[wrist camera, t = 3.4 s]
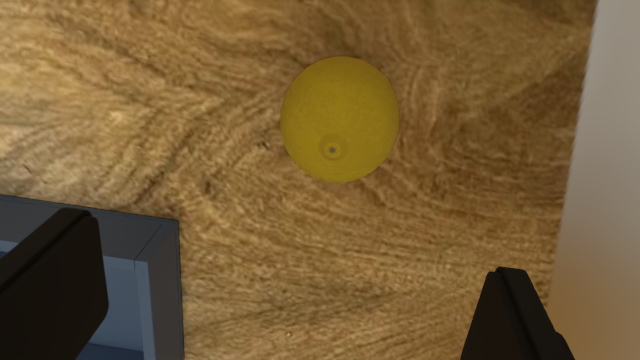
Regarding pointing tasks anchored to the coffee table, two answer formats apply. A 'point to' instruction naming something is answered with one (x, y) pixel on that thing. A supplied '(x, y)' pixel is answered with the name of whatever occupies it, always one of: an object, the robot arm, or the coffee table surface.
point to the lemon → (339, 119)
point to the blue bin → (121, 278)
